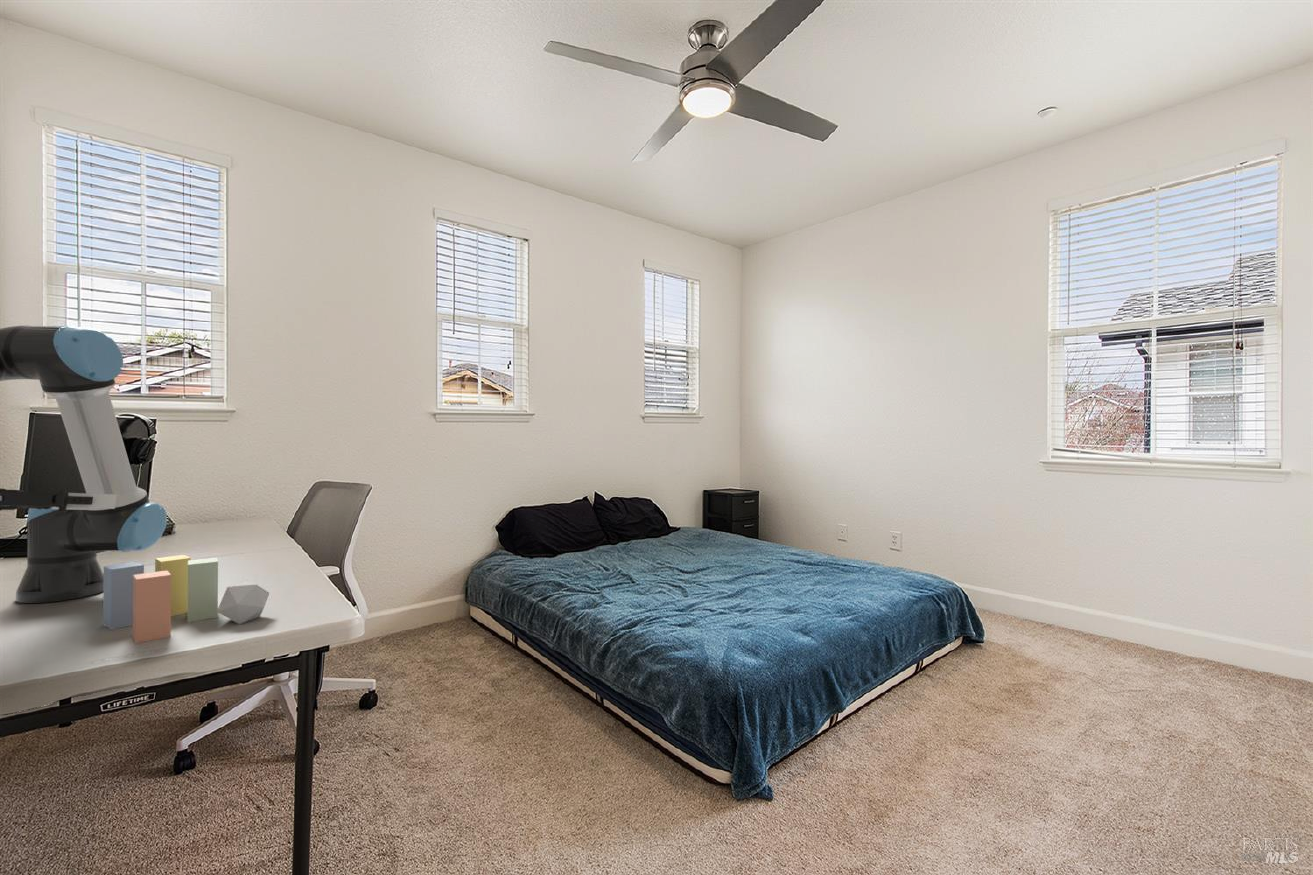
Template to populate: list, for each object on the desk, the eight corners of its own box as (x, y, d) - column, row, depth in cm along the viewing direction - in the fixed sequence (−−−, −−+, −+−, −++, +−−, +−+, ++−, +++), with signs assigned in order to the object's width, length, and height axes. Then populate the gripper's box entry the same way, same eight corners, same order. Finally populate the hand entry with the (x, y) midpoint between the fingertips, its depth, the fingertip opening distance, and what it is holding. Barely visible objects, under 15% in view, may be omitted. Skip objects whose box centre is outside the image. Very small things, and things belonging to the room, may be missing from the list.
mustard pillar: (154, 613, 124) (155, 558, 124) (183, 607, 128) (184, 554, 128) (160, 617, 121) (161, 561, 121) (190, 612, 125) (190, 557, 125)
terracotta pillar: (132, 636, 110) (133, 574, 110) (166, 630, 113) (167, 570, 113) (135, 643, 106) (136, 579, 106) (170, 636, 110) (170, 574, 110)
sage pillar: (187, 615, 122) (187, 560, 122) (216, 611, 125) (217, 557, 125) (187, 621, 118) (187, 564, 118) (217, 617, 122) (218, 561, 121)
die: (274, 622, 120) (280, 580, 126) (238, 613, 113) (246, 568, 119) (241, 634, 121) (249, 591, 127) (203, 625, 114) (213, 581, 120)
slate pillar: (103, 624, 116) (103, 566, 116) (135, 617, 121) (135, 561, 120) (111, 629, 114) (111, 569, 114) (143, 622, 118) (143, 564, 118)
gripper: (-75, 521, 102) (89, 521, 119) (-65, 520, 87) (120, 521, 104) (-67, 479, 103) (94, 486, 120) (-56, 471, 89) (126, 480, 106)
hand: (106, 502), depth 112 cm, fingers open, 13 cm apart
